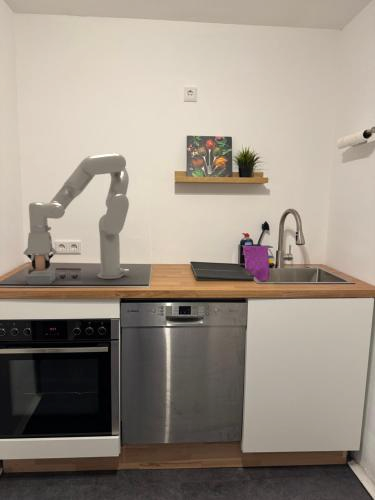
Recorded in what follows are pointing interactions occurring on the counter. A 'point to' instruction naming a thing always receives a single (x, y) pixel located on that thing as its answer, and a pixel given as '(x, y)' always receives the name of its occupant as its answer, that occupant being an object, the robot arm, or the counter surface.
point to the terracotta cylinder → (40, 262)
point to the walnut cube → (30, 270)
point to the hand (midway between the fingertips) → (41, 267)
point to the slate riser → (41, 277)
